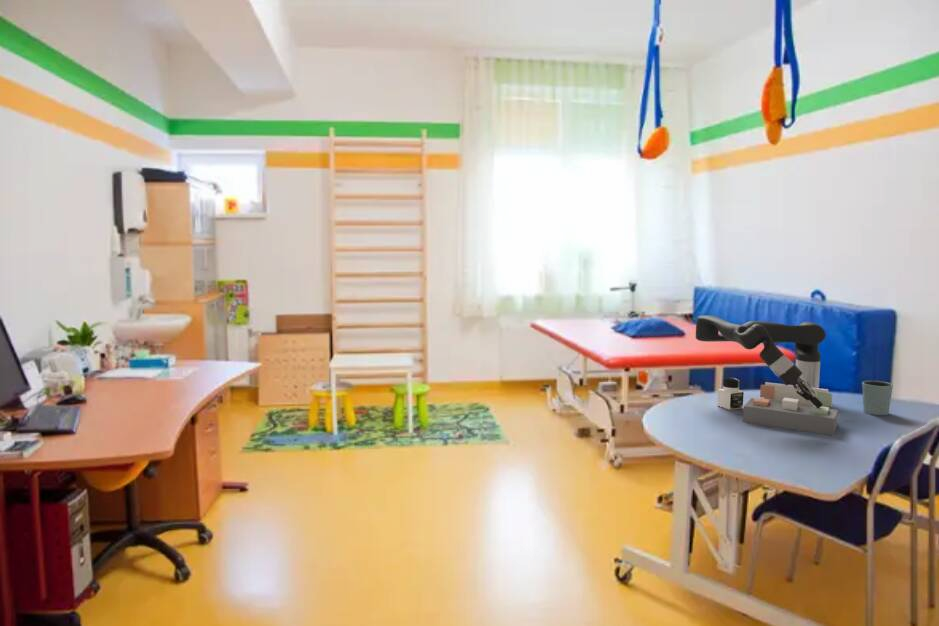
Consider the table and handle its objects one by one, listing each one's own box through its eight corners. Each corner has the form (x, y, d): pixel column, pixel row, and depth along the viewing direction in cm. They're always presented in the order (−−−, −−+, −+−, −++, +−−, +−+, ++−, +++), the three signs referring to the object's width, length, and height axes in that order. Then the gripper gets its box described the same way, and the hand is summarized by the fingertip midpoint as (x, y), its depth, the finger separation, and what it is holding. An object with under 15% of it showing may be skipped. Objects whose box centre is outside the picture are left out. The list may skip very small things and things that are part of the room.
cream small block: (781, 411, 242) (782, 400, 241) (783, 408, 246) (784, 397, 245) (796, 414, 239) (797, 402, 239) (798, 410, 243) (799, 399, 243)
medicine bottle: (730, 410, 261) (731, 381, 260) (716, 406, 268) (718, 377, 266) (743, 408, 264) (744, 379, 263) (729, 404, 270) (731, 375, 269)
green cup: (893, 417, 251) (895, 387, 249) (863, 414, 254) (865, 385, 252) (886, 410, 260) (888, 381, 258) (857, 408, 263) (859, 379, 262)
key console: (742, 421, 246) (744, 390, 244) (753, 409, 261) (754, 380, 260) (832, 435, 229) (835, 402, 227) (838, 422, 245) (840, 391, 243)
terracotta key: (752, 412, 248) (753, 400, 247) (755, 409, 252) (756, 397, 251) (766, 414, 245) (767, 402, 244) (769, 411, 249) (770, 399, 248)
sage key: (811, 420, 237) (812, 408, 236) (813, 417, 241) (813, 405, 240) (826, 422, 234) (827, 410, 233) (828, 419, 238) (829, 407, 237)
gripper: (780, 372, 249) (814, 408, 244) (774, 379, 238) (809, 416, 233) (796, 360, 246) (831, 396, 240) (790, 366, 235) (827, 404, 229)
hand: (820, 406), depth 236 cm, fingers closed
